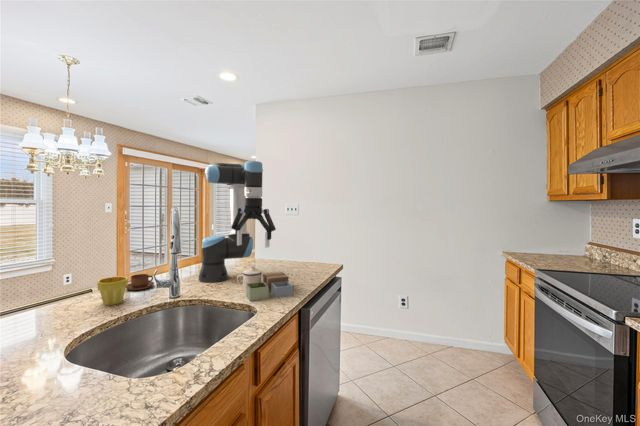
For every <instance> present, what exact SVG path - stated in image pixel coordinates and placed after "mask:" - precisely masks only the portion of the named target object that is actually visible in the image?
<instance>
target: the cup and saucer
mask: <svg viewBox="0 0 640 426" xmlns="http://www.w3.org/2000/svg"><path fill="white" fill-rule="evenodd" d="M149 278H151V279H150V280H149ZM153 280H154V277H153V275H149V274H148V273H141V274H140V273H138V274H133V275H131V276H130V283H128V285H127V287H126V288H125V290H126V289H127V290H129V291H142V290H146V289H149V288H151V287H153V286H154V284H155V282H154V281H153Z"/></svg>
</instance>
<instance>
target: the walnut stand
mask: <svg viewBox="0 0 640 426" xmlns="http://www.w3.org/2000/svg"><path fill="white" fill-rule="evenodd" d="M285 281H288V282H290V281H289V276H288V275H287V273H284V272H283V271H280V272H279V271H278V272H269V273H262V282H265V283H266V285H267V286H268V293H271V283H275V282H285Z"/></svg>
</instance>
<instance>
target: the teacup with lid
mask: <svg viewBox="0 0 640 426" xmlns="http://www.w3.org/2000/svg"><path fill="white" fill-rule="evenodd" d="M262 274H263V273H262V270H261V269H258V268H256V267H255V266H254V265H250V266H249V268H247V269H245V270H243V271H242V274H239V275H237V277H236V280H237V284H239V285H240V286H242V290H243V291H244V292H247V284H250V283H260V282H262ZM240 277H242V282H241V281H240Z"/></svg>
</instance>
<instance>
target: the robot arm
mask: <svg viewBox="0 0 640 426" xmlns="http://www.w3.org/2000/svg"><path fill="white" fill-rule="evenodd" d="M263 172H264V169H263V162H261V161H255V160H247V161H245V162H244V164H242V163H228V162H227V163H223V162H216V163H212V164H209V165H207V166H206V168H205V169H204V176H205V178H206V182H207V183H211V184H225V185H226V187H227V189H228V190H229V205H230V210H229V211H230V232H229V233H228V235H227V237H225V235H223V234H219V235H218V234H217V235H212V236H207V237H205V238H203V239H202V242H201V267H200V271H199V273H198V281H199V282H202V283H218V282H222V281H226V280H228V278H229V273H228V270H227V266H226V265H225V261H226V260H229V259H233V260H234V259H245V258H249V257H251V255H252V252H253V245H254V239H253V237H252V236H250V233H249V231H248V230H247V229H248V228H247V222H248V220H251V219H253V220H257V221H258V222H259V223H260V224H261V225H262V227H263V228H264V229H265V231H266V232H265V233H264V248H266V249H267V248H270V240H272V232H274V231H276V230H277V229H276V227H275V224H274V222H273V220H272V217H271V215H270V209H268V208H265V209H264V208H263V198H262V197H263ZM262 214H263V215H262ZM264 217H265V218H264Z"/></svg>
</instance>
